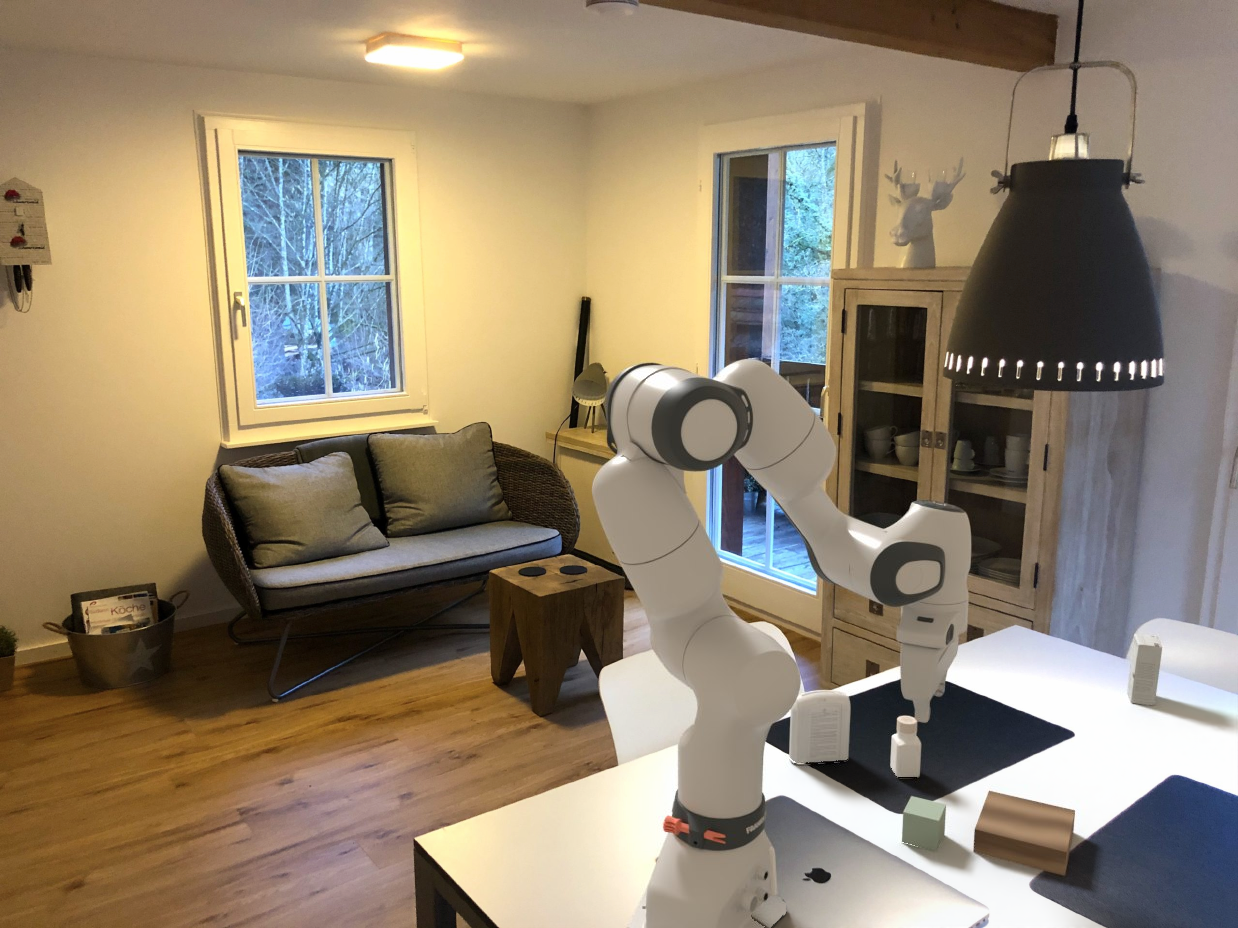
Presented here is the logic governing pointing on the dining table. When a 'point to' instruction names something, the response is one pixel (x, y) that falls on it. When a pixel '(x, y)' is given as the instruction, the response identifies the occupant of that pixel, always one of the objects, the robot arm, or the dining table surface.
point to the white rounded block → (820, 727)
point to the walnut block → (1025, 832)
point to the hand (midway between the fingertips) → (929, 706)
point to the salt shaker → (906, 748)
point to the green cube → (924, 823)
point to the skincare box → (1144, 669)
